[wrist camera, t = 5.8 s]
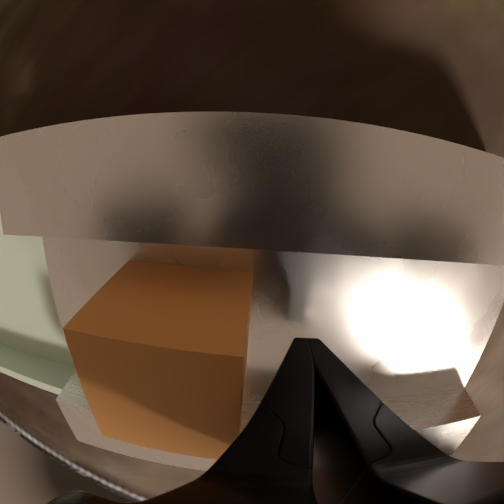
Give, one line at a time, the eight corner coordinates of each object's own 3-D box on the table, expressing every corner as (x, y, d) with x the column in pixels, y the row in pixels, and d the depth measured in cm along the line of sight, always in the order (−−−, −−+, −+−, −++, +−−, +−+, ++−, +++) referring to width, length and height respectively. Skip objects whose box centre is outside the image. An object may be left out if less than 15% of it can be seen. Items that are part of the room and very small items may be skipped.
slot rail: (423, 391, 15) (452, 454, 10) (113, 376, 15) (77, 440, 11) (490, 163, 10) (568, 184, 6) (78, 130, 11) (-5, 137, 6)
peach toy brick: (246, 370, 11) (236, 461, 7) (141, 357, 11) (102, 435, 7) (253, 271, 9) (243, 356, 6) (128, 260, 10) (62, 327, 6)
